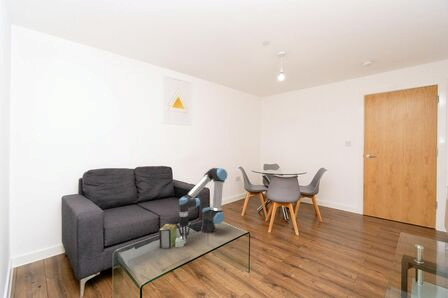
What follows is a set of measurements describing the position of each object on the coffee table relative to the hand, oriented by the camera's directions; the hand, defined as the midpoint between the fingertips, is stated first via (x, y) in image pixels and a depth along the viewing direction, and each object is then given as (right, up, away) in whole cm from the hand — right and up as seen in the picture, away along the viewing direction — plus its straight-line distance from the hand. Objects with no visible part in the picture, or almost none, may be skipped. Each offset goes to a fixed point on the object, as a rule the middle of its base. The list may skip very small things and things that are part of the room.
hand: (184, 242), depth 181 cm
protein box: (-15, -2, +2) cm, 15 cm away
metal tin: (-4, -2, +9) cm, 10 cm away
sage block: (-4, -2, 0) cm, 5 cm away
